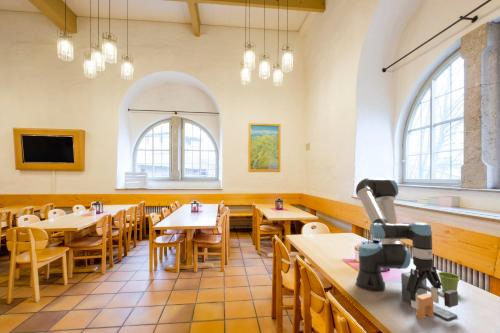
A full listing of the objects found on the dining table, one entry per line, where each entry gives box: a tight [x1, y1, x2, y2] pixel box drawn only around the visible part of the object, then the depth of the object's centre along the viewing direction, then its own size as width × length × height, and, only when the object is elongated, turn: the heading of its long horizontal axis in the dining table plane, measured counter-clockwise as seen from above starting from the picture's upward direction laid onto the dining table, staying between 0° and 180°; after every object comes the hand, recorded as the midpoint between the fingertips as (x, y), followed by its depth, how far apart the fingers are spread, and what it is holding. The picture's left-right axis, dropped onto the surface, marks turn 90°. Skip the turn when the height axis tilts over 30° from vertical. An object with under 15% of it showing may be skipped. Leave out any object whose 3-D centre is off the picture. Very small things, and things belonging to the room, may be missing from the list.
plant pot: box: [437, 271, 461, 292], centre depth 134 cm, size 9×9×9 cm
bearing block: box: [400, 271, 458, 322], centre depth 118 cm, size 20×10×14 cm, turn 21°
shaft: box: [419, 284, 459, 309], centre depth 115 cm, size 15×6×6 cm, turn 21°
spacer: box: [415, 293, 435, 321], centre depth 111 cm, size 3×7×9 cm, turn 111°
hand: (425, 305), depth 110 cm, fingers open, 13 cm apart
